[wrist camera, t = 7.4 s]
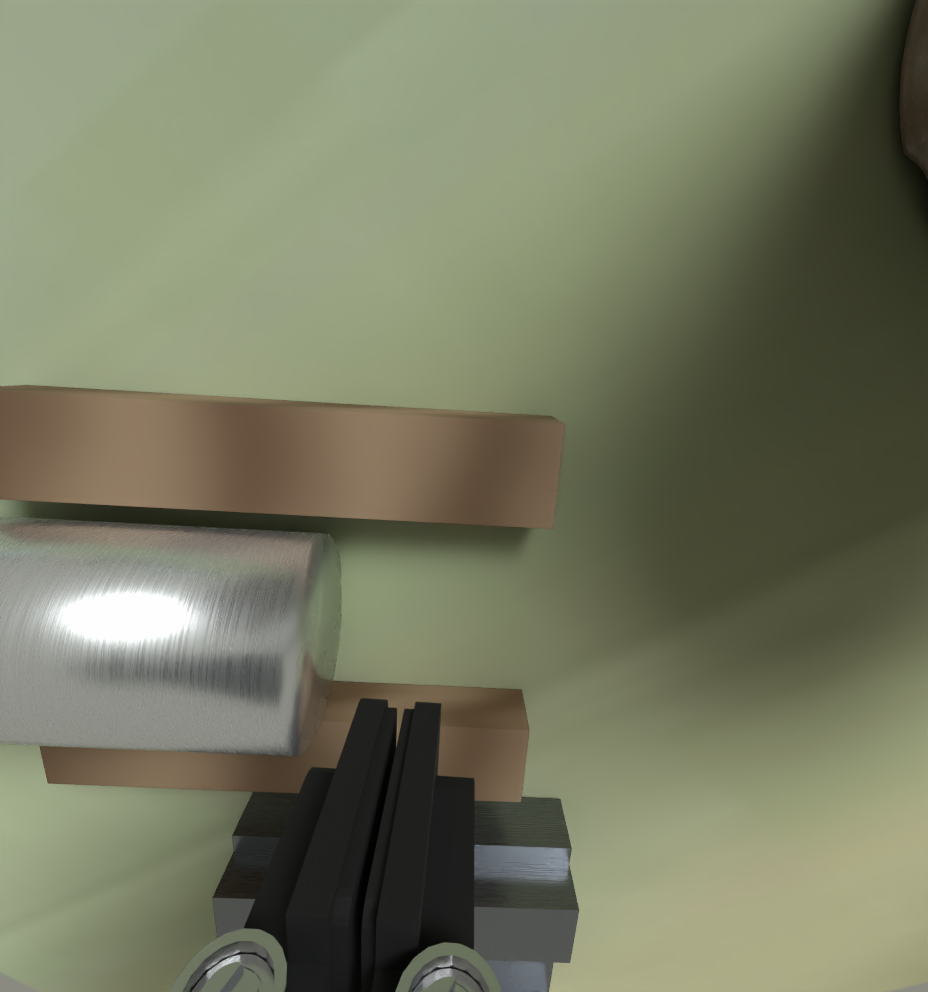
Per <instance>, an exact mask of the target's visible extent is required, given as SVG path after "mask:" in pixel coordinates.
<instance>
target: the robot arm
mask: <svg viewBox="0 0 928 992" xmlns="http://www.w3.org/2000/svg"><path fill="white" fill-rule="evenodd" d="M440 724H441V703H429V702H415V706H414V709H404V713H403V718H402V722H401V727H400V732H399V737H398V742H397V747H396V739H397V708H391V707H388V700H385V699H370V698H361V699H360V701H359V703H358V706H357V709H356V712H355V715H354V718H353V721H352V723H351V726H350V729H349V732H348V735H347V738H346V741H345V744H344V747H343V750H342V752H341V755H340V758H339V761H338V764H337V767H336V768H321V767H312V768H311V769H310V770H309V771H308V773H307V775H306V777H305V780H304V782H303V784H302V787H301V789H300V792H299V794H298V797H297V799H296V801H295V804H294V806H293V809H292V811H291V814H290V816H289V819H288V821H287V823H286V826H285V828H284V831H283V833H282V836H281V838H280V840H279V843H278V845H277V848H276V850H275V853H274V855H273V857H272V860H271V862H270V865H269V867H268V870H267V872H266V875H265V877H264V879H263V882H262V884H261V887H260V889H259V892H258V894H257V896H256V899H255V901H254V904H253V906H252V909H251V911H250V913H249V916H248V918H247V921H246V923H245V926H244V928H243V929H240V930H236V931H232V932H229V933H226V934H224V935H222V936H221V937H219V938H217V939H215V940H214V941H212V942H210V943H208V944H207V945H206V946H205V947H204V948H203V949H202V950H201V951H200V952H198V953H197V954H196V955H195V956H194V957H193V958H192V959H191V960H190V961H189V963H188V964H187V965H186V967H185V968H184V969H183V971H182V972H181V973H180V975H179V976H178V977H177V979H176V980H175V982H174V984H173V985H172V987H171V989H170V990H169V992H501V988H500V985H499V981H498V979H497V977H496V976H495V974H494V972H493V971H492V969H491V967H490V965H489V964H488V963H487V962H486V961H485V960H484V959H483V958H482V957H481V956H480V955H479V954H478V953H477V952H476V951H475V950H474V829H475V782H474V778H467V777H453V776H438V760H439V742H440Z"/></svg>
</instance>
